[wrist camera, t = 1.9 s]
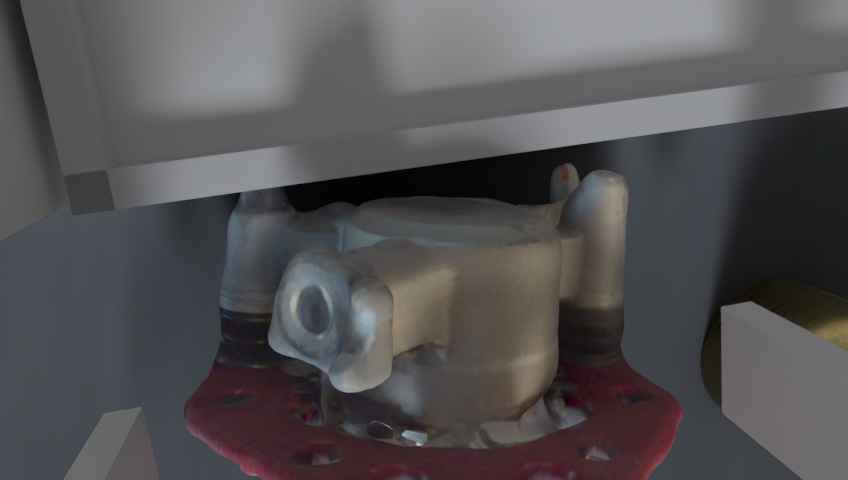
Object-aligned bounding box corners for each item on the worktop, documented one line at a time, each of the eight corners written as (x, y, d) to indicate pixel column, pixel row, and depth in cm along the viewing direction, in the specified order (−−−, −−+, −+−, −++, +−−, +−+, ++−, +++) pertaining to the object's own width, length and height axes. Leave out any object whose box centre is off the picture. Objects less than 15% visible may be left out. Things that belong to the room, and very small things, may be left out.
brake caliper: (203, 601, 19) (87, 660, 8) (226, 231, 23) (172, -51, 12) (598, 571, 21) (930, 587, 10) (549, 238, 25) (741, 1, 14)
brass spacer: (701, 432, 23) (836, 552, 17) (699, 291, 22) (843, 369, 16) (835, 404, 24) (1008, 510, 18) (840, 266, 23) (1027, 332, 17)
